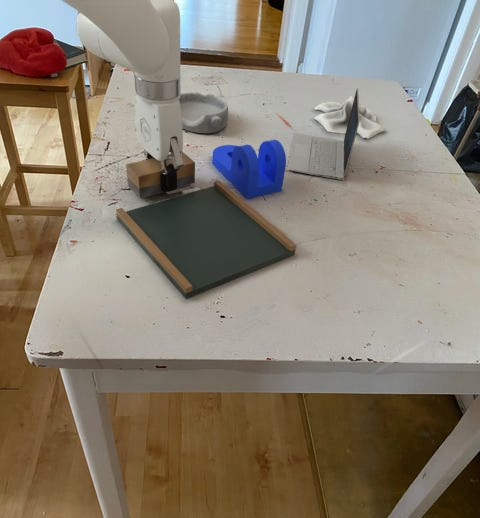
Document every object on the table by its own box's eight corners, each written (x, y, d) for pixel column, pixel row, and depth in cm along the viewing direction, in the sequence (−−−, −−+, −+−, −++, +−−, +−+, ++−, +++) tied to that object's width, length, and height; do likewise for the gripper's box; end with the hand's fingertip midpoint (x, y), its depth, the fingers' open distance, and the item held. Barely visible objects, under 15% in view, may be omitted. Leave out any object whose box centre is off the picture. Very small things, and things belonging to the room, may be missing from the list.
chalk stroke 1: (156, 207, 89) (156, 205, 88) (154, 205, 89) (153, 202, 89) (177, 202, 91) (177, 199, 90) (174, 199, 91) (174, 197, 91)
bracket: (281, 190, 97) (288, 149, 90) (246, 199, 93) (251, 156, 87) (238, 151, 107) (242, 111, 100) (205, 157, 104) (207, 116, 97)
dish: (226, 138, 111) (227, 117, 107) (167, 132, 110) (166, 111, 107) (228, 112, 121) (229, 92, 117) (174, 107, 120) (173, 87, 117)
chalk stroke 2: (165, 189, 92) (165, 192, 93) (167, 192, 92) (167, 194, 92) (187, 183, 94) (187, 186, 95) (190, 186, 94) (190, 188, 94)
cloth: (386, 143, 116) (394, 118, 112) (312, 132, 117) (316, 107, 113) (381, 108, 132) (387, 84, 127) (315, 98, 132) (319, 75, 128)
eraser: (140, 198, 88) (138, 176, 85) (127, 185, 91) (125, 164, 88) (194, 183, 94) (195, 162, 90) (181, 171, 96) (181, 150, 93)
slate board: (185, 299, 72) (185, 288, 71) (116, 219, 85) (115, 209, 83) (294, 254, 82) (296, 244, 81) (218, 189, 95) (218, 179, 93)
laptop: (293, 136, 115) (302, 79, 105) (344, 144, 114) (358, 87, 105) (286, 172, 102) (297, 111, 93) (344, 181, 102) (360, 121, 92)
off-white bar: (181, 190, 93) (181, 193, 93) (183, 193, 92) (183, 195, 92) (198, 187, 94) (198, 189, 94) (200, 189, 93) (200, 192, 94)
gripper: (114, 71, 82) (124, 168, 95) (163, 109, 73) (166, 210, 86) (153, 66, 85) (157, 160, 98) (204, 101, 76) (201, 199, 89)
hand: (161, 182), depth 92 cm, fingers closed on eraser, 5 cm apart
